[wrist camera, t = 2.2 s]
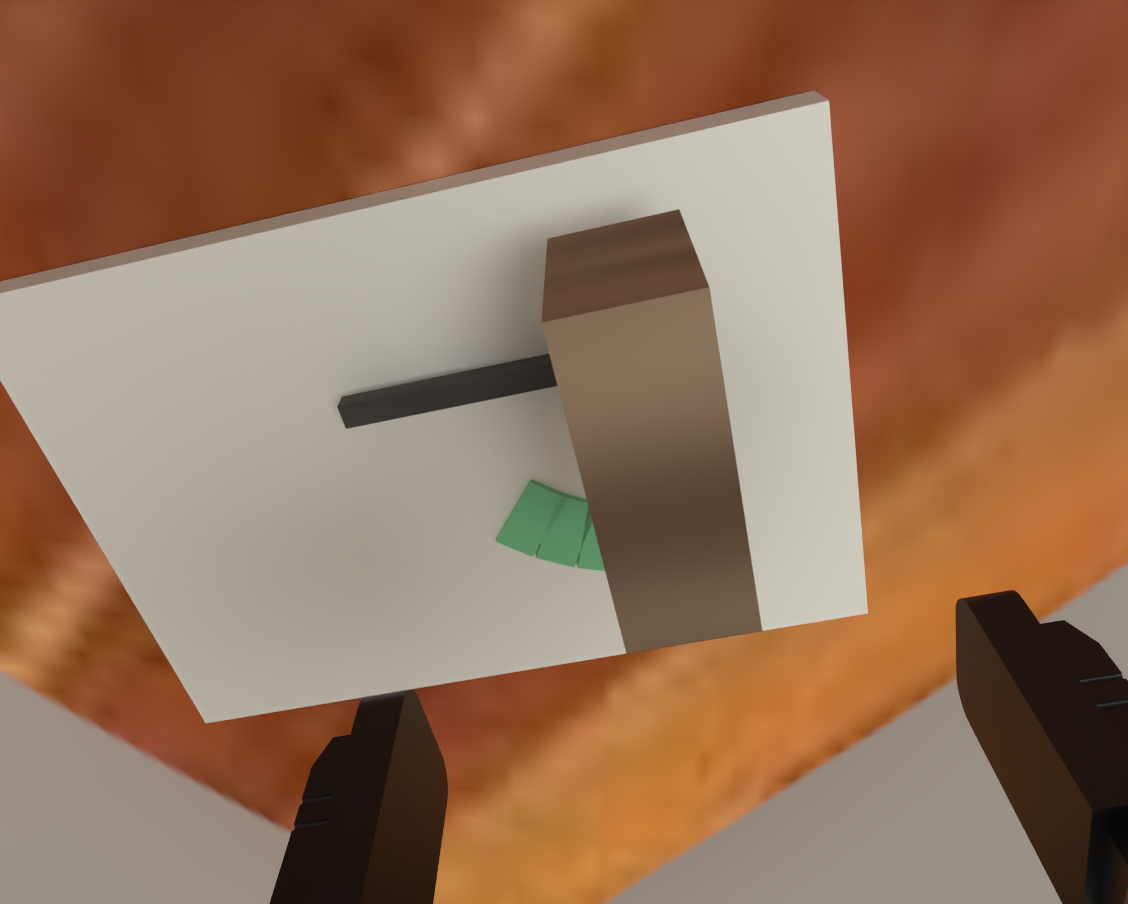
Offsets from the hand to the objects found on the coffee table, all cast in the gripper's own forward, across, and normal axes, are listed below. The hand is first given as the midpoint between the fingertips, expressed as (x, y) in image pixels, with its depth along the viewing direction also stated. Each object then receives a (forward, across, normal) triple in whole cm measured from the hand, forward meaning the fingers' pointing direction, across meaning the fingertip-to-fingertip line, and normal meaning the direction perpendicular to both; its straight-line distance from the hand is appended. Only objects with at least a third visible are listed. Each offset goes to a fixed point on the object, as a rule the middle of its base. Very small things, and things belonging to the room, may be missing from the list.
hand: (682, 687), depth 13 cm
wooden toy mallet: (+13, +3, 0) cm, 13 cm away
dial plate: (+14, +6, +3) cm, 16 cm away
